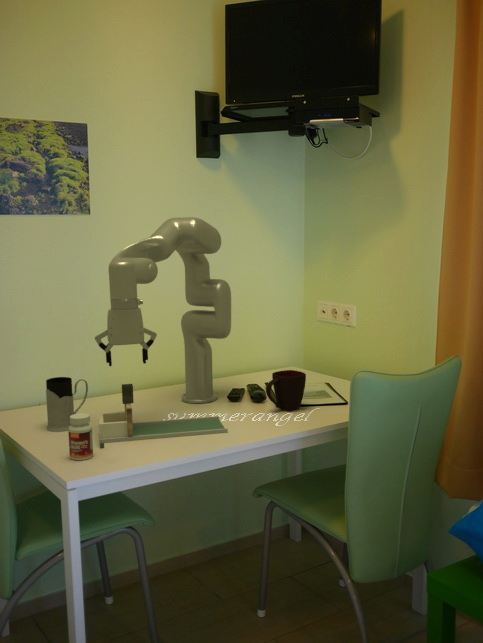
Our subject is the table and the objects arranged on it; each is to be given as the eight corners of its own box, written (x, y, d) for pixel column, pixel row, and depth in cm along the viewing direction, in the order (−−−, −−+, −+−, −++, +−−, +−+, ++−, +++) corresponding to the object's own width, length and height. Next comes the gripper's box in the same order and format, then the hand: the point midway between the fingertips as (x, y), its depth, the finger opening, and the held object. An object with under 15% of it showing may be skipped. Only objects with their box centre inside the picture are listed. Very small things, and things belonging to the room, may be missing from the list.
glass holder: (41, 427, 203) (38, 380, 200) (81, 417, 213) (79, 372, 211) (56, 433, 197) (53, 384, 194) (96, 423, 207) (94, 376, 205)
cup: (310, 409, 219) (310, 374, 217) (277, 416, 211) (276, 380, 209) (291, 403, 227) (291, 369, 225) (258, 410, 219) (258, 374, 217)
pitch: (99, 433, 196) (98, 412, 196) (218, 423, 204) (218, 403, 203) (100, 448, 183) (99, 425, 182) (227, 437, 191) (227, 415, 190)
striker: (122, 424, 198) (120, 380, 196) (132, 424, 198) (131, 379, 196) (125, 439, 184) (123, 391, 182) (136, 438, 185) (134, 390, 183)
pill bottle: (69, 461, 173) (66, 419, 171) (70, 453, 179) (68, 413, 177) (93, 459, 174) (91, 418, 173) (93, 452, 180) (91, 411, 179)
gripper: (153, 301, 192) (156, 358, 194) (92, 304, 188) (96, 363, 191) (156, 304, 184) (159, 364, 187) (92, 308, 181) (96, 369, 183)
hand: (127, 363), depth 189 cm, fingers open, 9 cm apart
